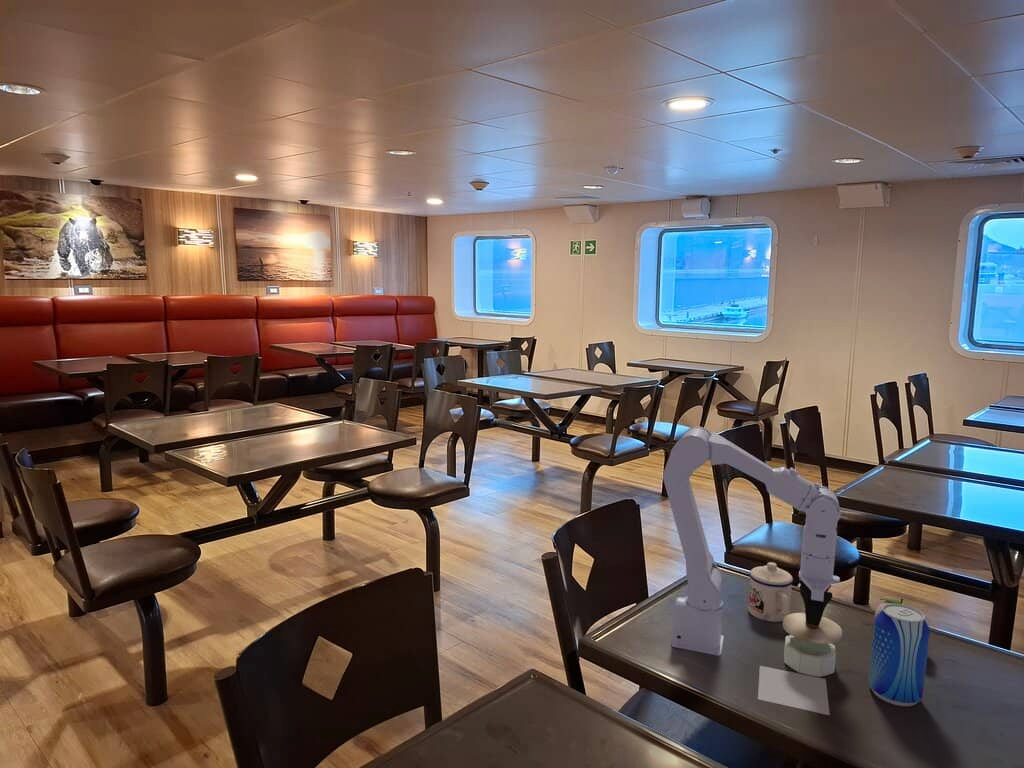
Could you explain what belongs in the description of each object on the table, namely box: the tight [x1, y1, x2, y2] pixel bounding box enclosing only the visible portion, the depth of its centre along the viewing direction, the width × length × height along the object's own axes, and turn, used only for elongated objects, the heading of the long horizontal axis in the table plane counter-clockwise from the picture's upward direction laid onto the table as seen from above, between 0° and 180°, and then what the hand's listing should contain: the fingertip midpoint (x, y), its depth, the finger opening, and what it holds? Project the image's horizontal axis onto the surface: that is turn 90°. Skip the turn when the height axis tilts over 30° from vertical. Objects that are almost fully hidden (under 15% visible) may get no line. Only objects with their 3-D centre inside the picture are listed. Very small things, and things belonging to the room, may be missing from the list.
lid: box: [782, 612, 843, 644], centre depth 131 cm, size 10×10×5 cm
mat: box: [757, 665, 831, 716], centre depth 124 cm, size 12×12×1 cm
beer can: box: [868, 604, 931, 707], centre depth 122 cm, size 8×8×16 cm
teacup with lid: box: [747, 562, 794, 623], centre depth 151 cm, size 12×9×12 cm
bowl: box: [783, 634, 837, 678], centre depth 132 cm, size 9×9×4 cm
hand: (812, 620), depth 131 cm, fingers closed on lid, 2 cm apart
